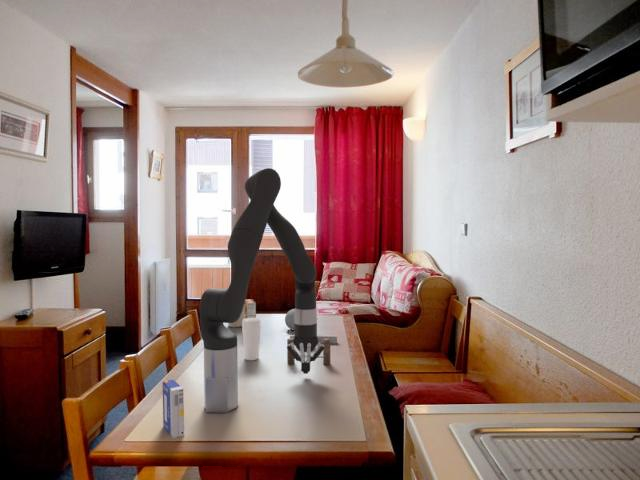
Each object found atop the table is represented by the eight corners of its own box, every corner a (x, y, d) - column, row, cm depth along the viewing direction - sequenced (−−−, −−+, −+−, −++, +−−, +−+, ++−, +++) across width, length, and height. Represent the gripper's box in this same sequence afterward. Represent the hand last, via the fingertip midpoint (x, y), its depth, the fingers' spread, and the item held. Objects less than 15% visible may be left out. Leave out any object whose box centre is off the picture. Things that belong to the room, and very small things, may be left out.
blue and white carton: (163, 426, 114) (162, 380, 114) (174, 423, 116) (173, 378, 115) (173, 438, 108) (172, 389, 107) (184, 435, 109) (183, 387, 109)
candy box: (244, 331, 210) (244, 299, 210) (253, 331, 212) (253, 298, 211) (247, 336, 202) (246, 302, 201) (256, 335, 203) (256, 302, 202)
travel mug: (245, 323, 226) (245, 288, 225) (243, 327, 218) (243, 290, 217) (229, 323, 226) (229, 288, 225) (227, 327, 218) (226, 291, 217)
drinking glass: (257, 362, 165) (256, 321, 165) (239, 361, 167) (239, 321, 166) (263, 356, 172) (262, 317, 171) (246, 355, 173) (246, 317, 173)
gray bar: (337, 343, 190) (337, 336, 190) (289, 343, 191) (289, 336, 191) (337, 342, 192) (337, 335, 192) (290, 341, 193) (290, 334, 193)
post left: (294, 364, 162) (294, 340, 162) (287, 364, 162) (286, 340, 162) (294, 362, 165) (294, 338, 164) (287, 362, 165) (287, 338, 165)
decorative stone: (282, 328, 217) (282, 307, 216) (302, 326, 220) (302, 306, 220) (288, 333, 207) (288, 311, 207) (308, 331, 211) (308, 310, 210)
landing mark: (328, 357, 171) (328, 356, 171) (292, 356, 172) (292, 356, 172) (329, 346, 185) (329, 346, 185) (295, 346, 186) (295, 346, 186)
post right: (330, 365, 162) (330, 340, 161) (323, 365, 162) (323, 340, 161) (330, 362, 164) (330, 338, 164) (323, 362, 164) (323, 338, 164)
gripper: (284, 323, 145) (284, 376, 146) (325, 324, 144) (325, 377, 145) (287, 318, 153) (287, 368, 153) (326, 319, 152) (326, 369, 153)
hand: (305, 372), depth 149 cm, fingers closed
